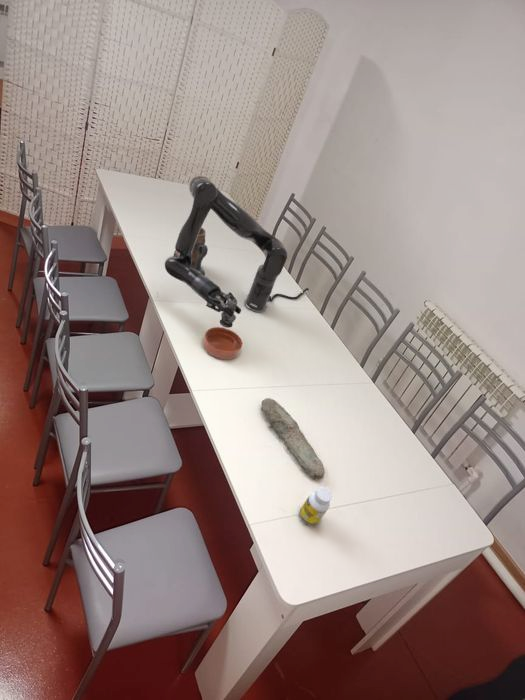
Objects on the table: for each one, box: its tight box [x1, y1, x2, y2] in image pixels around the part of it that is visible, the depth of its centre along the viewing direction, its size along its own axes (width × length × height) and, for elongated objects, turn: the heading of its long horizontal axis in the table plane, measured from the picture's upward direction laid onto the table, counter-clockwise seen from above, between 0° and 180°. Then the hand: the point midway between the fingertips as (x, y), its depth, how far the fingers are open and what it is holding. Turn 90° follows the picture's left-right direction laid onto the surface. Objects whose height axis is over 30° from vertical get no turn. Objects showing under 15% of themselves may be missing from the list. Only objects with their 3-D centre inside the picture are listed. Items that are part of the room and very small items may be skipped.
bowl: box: [202, 326, 243, 360], centre depth 192 cm, size 15×15×4 cm
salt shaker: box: [219, 298, 238, 329], centre depth 185 cm, size 6×6×12 cm
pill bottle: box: [299, 487, 333, 526], centre depth 142 cm, size 6×6×12 cm
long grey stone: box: [261, 397, 326, 480], centre depth 166 cm, size 35×5×10 cm
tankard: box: [172, 226, 208, 277], centre depth 224 cm, size 24×17×20 cm
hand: (236, 313), depth 184 cm, fingers closed on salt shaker, 3 cm apart
